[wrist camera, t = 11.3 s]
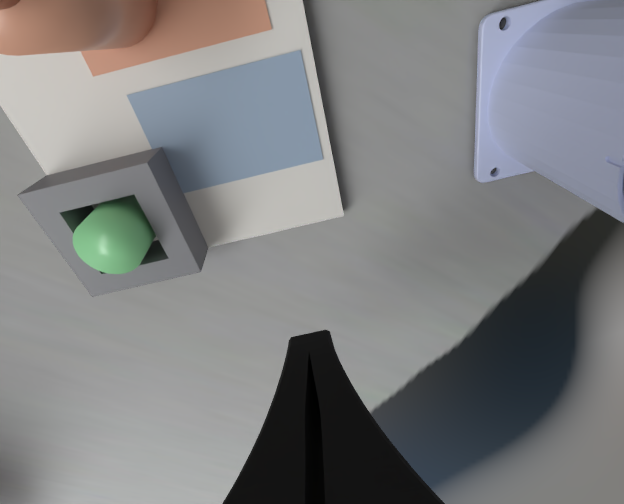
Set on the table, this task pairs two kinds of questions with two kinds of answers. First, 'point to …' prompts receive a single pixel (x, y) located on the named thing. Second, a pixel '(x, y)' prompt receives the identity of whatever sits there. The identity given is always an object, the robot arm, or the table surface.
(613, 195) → the robot arm
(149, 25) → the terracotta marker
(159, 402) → the table surface
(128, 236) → the button
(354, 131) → the table surface
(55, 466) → the table surface
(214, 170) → the picture board
